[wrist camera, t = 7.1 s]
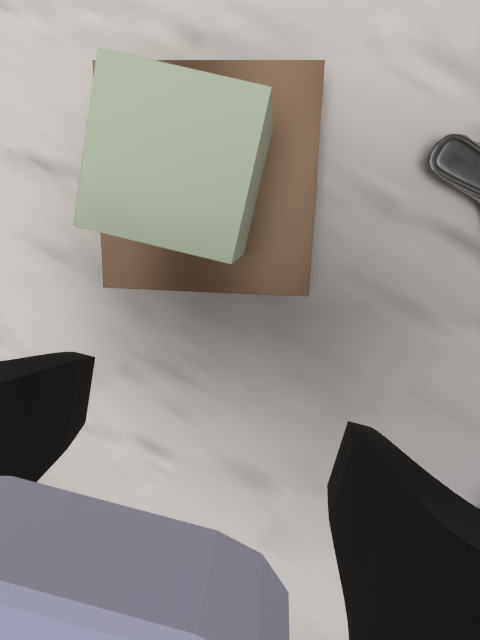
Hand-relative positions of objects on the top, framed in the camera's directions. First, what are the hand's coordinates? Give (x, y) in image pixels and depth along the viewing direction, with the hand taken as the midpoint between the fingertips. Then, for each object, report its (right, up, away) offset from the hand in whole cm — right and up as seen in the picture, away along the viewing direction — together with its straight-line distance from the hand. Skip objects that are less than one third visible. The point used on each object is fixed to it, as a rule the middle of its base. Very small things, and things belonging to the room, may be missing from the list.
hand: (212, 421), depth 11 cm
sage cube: (-1, +9, +6) cm, 10 cm away
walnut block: (0, +9, +9) cm, 12 cm away
